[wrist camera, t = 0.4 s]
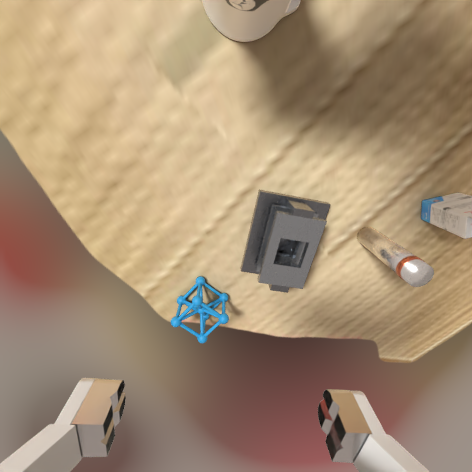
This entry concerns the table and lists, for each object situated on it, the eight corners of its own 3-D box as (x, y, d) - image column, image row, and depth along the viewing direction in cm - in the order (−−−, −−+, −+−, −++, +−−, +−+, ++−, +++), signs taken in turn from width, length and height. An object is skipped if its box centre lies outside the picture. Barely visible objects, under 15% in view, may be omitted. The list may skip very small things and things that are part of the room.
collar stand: (259, 189, 54) (264, 199, 46) (327, 202, 56) (344, 214, 48) (240, 268, 62) (243, 288, 54) (301, 277, 64) (312, 298, 56)
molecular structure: (230, 294, 65) (231, 321, 56) (205, 317, 68) (202, 347, 58) (200, 272, 62) (195, 297, 53) (175, 297, 65) (167, 325, 56)
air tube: (361, 224, 58) (414, 262, 42) (379, 227, 59) (439, 266, 42) (353, 242, 60) (402, 285, 44) (371, 245, 61) (426, 289, 44)
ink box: (419, 219, 59) (478, 246, 45) (421, 199, 57) (482, 222, 43) (456, 211, 58) (526, 237, 45) (459, 191, 56) (533, 211, 43)
